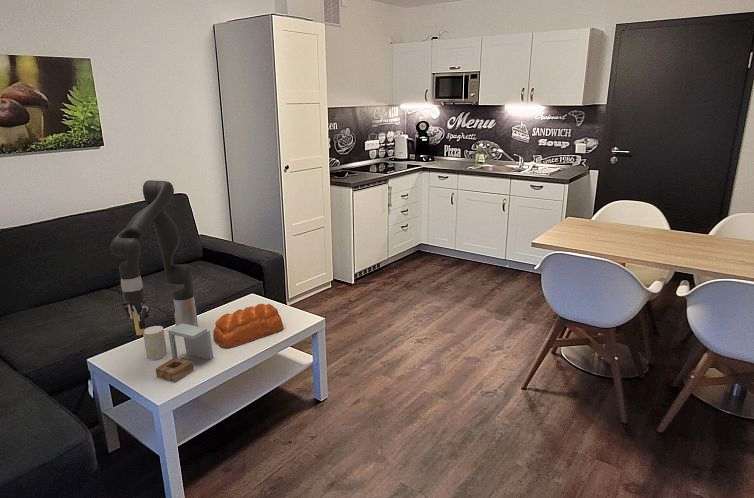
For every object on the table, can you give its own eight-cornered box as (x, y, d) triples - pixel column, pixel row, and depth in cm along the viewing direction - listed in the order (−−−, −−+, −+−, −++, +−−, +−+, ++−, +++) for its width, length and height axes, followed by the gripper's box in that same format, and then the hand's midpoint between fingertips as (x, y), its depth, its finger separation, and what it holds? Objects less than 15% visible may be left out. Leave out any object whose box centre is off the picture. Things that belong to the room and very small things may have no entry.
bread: (210, 339, 233) (207, 313, 229) (271, 319, 252) (269, 295, 248) (224, 351, 221) (221, 324, 218) (287, 329, 241) (285, 304, 237)
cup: (147, 361, 214) (143, 335, 210) (146, 353, 221) (142, 328, 217) (168, 356, 217) (164, 331, 214) (166, 349, 224) (162, 324, 221)
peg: (134, 334, 202) (130, 311, 199) (141, 331, 204) (137, 308, 201) (139, 335, 200) (135, 312, 198) (146, 332, 203) (142, 309, 200)
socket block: (156, 377, 201) (155, 368, 200) (176, 365, 210) (174, 356, 209) (175, 382, 197) (173, 373, 196) (194, 370, 206) (192, 361, 204)
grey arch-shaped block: (172, 361, 213) (168, 330, 209) (188, 352, 221) (184, 321, 217) (197, 368, 207) (193, 336, 203) (213, 358, 215) (209, 327, 211)
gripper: (111, 288, 196) (119, 328, 201) (136, 293, 190) (144, 334, 195) (128, 282, 203) (135, 321, 208) (153, 286, 197) (159, 327, 202)
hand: (139, 327), depth 202 cm, fingers closed on peg, 3 cm apart
